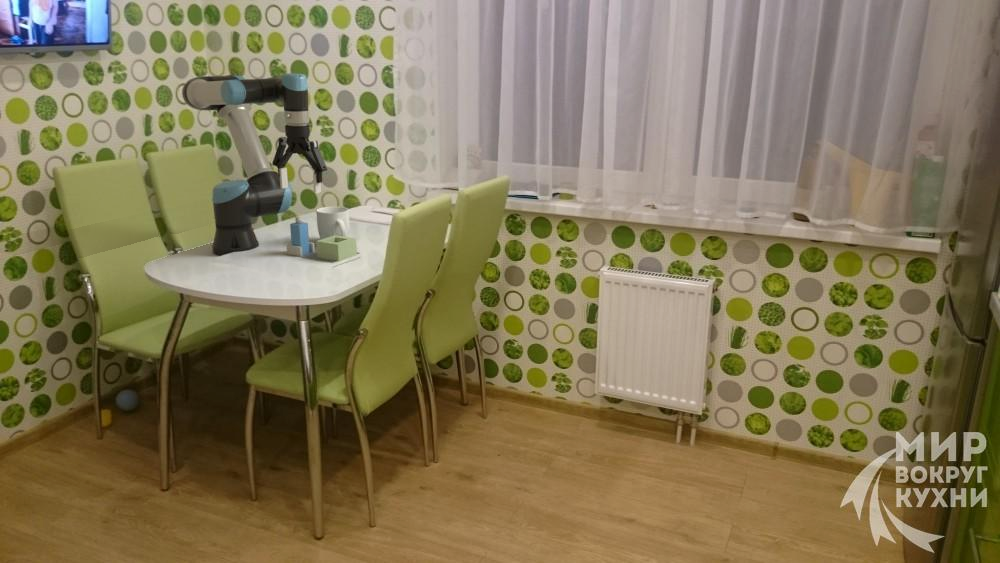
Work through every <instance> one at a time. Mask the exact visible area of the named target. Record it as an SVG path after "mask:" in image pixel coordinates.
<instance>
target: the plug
mask: <svg viewBox="0 0 1000 563" xmlns="http://www.w3.org/2000/svg"><path fill="white" fill-rule="evenodd" d="M289 228H290V229H289V230H290V240H291V245H294V246H299V247H302V254H306V253H309V252H310V248H309V242H310V236H309V234H310V233H309V223H308V222H303V218H302V216H296V217H295V222H292V223H289Z"/></svg>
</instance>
